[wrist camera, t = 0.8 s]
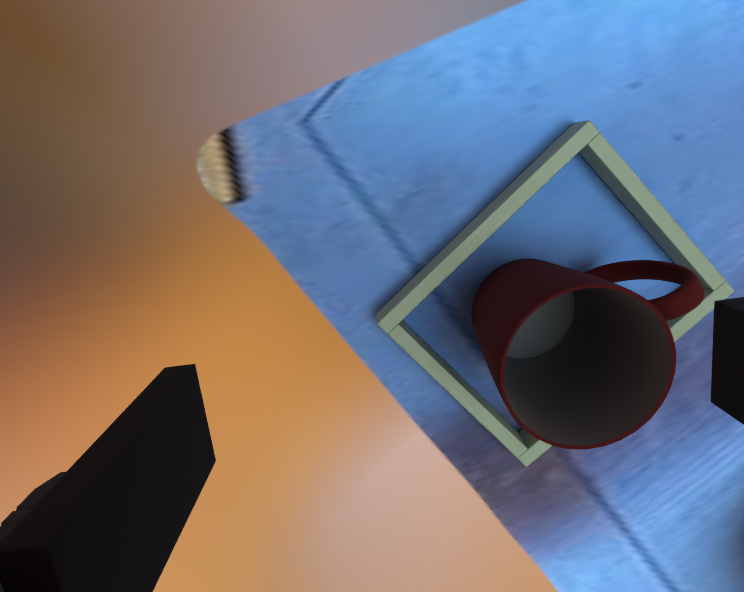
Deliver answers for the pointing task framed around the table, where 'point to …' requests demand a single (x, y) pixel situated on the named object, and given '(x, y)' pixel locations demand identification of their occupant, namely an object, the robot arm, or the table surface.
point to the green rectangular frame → (495, 215)
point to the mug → (581, 346)
